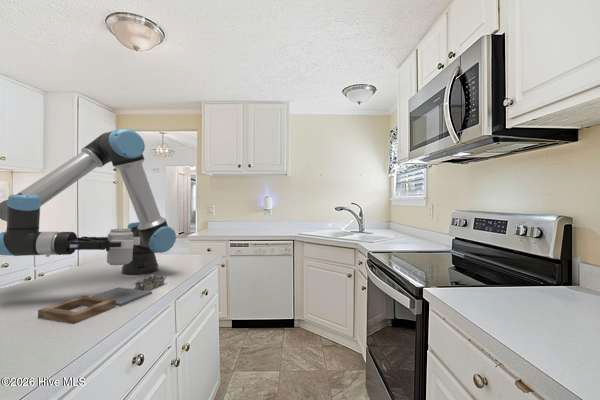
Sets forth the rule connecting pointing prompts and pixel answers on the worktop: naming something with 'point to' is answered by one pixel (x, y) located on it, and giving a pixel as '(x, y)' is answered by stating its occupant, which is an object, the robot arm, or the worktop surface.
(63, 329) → the worktop surface
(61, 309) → the frame
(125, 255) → the can
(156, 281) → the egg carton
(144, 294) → the mat
